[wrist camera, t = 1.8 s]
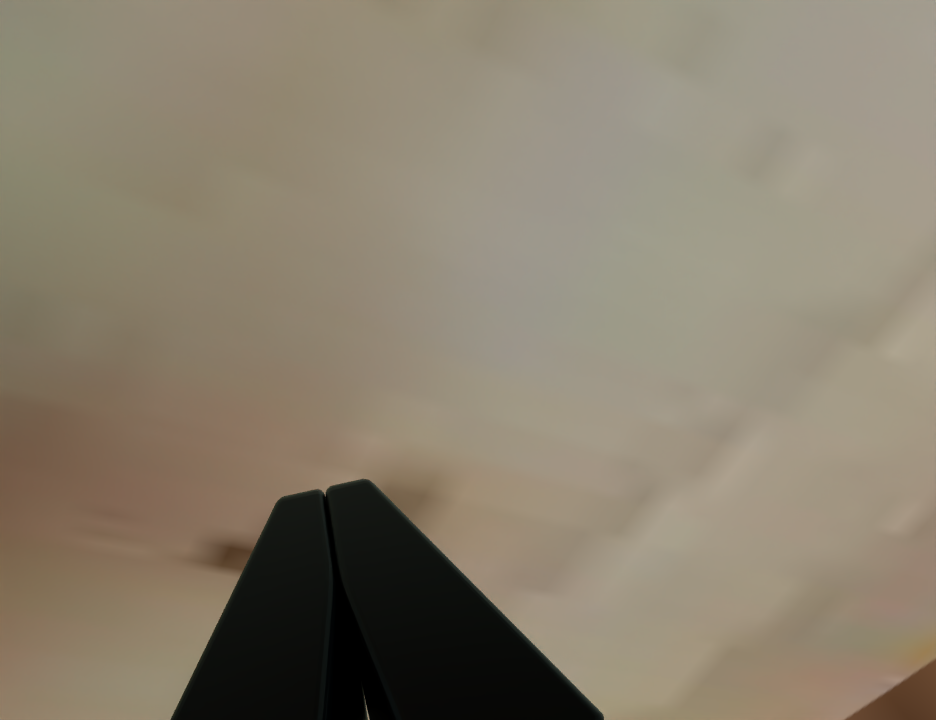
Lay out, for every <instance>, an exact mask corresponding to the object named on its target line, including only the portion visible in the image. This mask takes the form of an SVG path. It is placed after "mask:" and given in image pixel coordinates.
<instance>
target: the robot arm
mask: <svg viewBox="0 0 936 720" xmlns="http://www.w3.org/2000/svg"><path fill="white" fill-rule="evenodd" d="M364 696H365V698H364ZM365 701H366V704H365ZM366 705H367V710H368V714H369V719H370V720H604V716H603V714H602V713H601V712H600V711H599V710H598V709H597V708H596V707H595V706H594V705H593V704H592V703H591V702H590V701H589V700H588V699H587V698H586V697H585V696H584V695H583V694H582V693H581V692H580V691H579V690H578V689H577V688H576V687H575V686H574V685H573V684H572V683H571V682H570V681H569V680H568V679H567V678H566V677H565V676H564V675H563V674H562V673H561V671H560V670H559V669H558V668H557V667H556V666H555V665H554V664H553V663H552V662H551V661H550V660H549V659H548V658H547V657H546V656H545V655H544V654H543V653H542V652H541V651H540V650H539V649H538V648H537V647H536V646H535V645H534V644H533V643H532V642H531V641H530V640H529V639H528V638H527V637H526V636H525V635H524V634H523V633H522V632H521V631H520V630H519V629H518V628H517V627H516V626H515V625H514V624H513V623H512V622H511V621H510V620H509V619H508V618H507V617H506V616H505V615H504V614H503V613H502V612H501V611H500V610H499V609H498V608H497V607H496V606H495V605H494V604H493V603H492V602H491V601H490V600H489V599H488V598H487V597H486V596H485V595H484V594H483V593H482V592H481V591H480V590H479V589H478V588H477V587H476V586H475V585H474V584H473V583H472V582H471V581H470V580H469V579H468V578H467V577H466V576H465V575H464V574H463V573H462V572H461V571H460V570H459V569H458V568H457V567H456V566H455V565H454V564H453V563H452V562H451V561H450V560H449V559H448V558H447V557H446V556H445V555H444V554H443V553H442V552H441V551H440V550H439V549H438V548H437V547H436V546H435V545H434V544H433V543H432V542H431V541H430V540H429V539H428V538H427V537H426V536H425V535H424V534H423V533H422V532H421V531H420V530H419V529H418V528H417V527H416V526H415V525H414V524H413V523H412V522H411V521H410V520H409V518H408V517H407V516H406V515H405V514H404V513H403V512H402V511H401V510H400V509H399V508H398V507H397V506H396V505H395V504H394V503H393V502H392V501H391V500H390V499H389V498H388V497H387V496H386V495H385V494H384V493H383V492H382V491H381V490H380V489H379V488H378V487H377V486H376V485H375V484H374V483H372V482H371V481H370V480H367V479H360V480H356V481H351V482H347V483H342V484H338V485H333V486H330V487H329V488H328V489H327V491H326V497H325V494H324V493H323V492H322V491H321V490H318V489H315V490H311V491H306V492H302V493H297V494H293V495H288V496H284V497H282V498H280V499H279V500H278V501H277V503H276V504H275V506H274V508H273V510H272V512H271V514H270V516H269V519H268V521H267V523H266V525H265V527H264V529H263V531H262V533H261V535H260V537H259V539H258V541H257V543H256V545H255V547H254V549H253V551H252V553H251V555H250V558H249V560H248V562H247V564H246V566H245V568H244V570H243V572H242V574H241V576H240V578H239V580H238V582H237V584H236V586H235V588H234V590H233V592H232V594H231V597H230V599H229V601H228V603H227V605H226V607H225V609H224V611H223V613H222V615H221V617H220V619H219V621H218V623H217V625H216V627H215V629H214V631H213V633H212V636H211V638H210V640H209V642H208V644H207V646H206V648H205V650H204V652H203V654H202V656H201V658H200V660H199V662H198V664H197V666H196V668H195V670H194V673H193V675H192V677H191V679H190V681H189V683H188V685H187V687H186V689H185V691H184V693H183V695H182V697H181V699H180V701H179V703H178V705H177V707H176V709H175V712H174V714H173V716H172V718H171V720H368V718H367V711H366Z"/></svg>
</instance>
